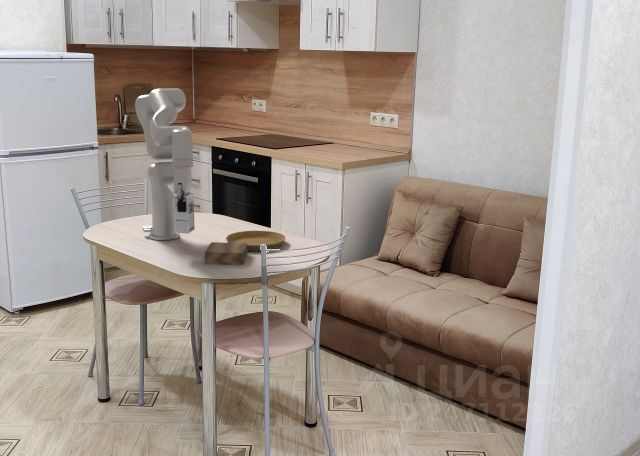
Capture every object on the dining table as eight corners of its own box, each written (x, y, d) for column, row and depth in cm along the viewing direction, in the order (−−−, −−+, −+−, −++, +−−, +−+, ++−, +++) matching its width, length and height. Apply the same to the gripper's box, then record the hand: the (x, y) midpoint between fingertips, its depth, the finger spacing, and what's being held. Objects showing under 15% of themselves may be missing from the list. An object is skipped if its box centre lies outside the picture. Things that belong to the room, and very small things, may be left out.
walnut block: (205, 265, 266) (204, 252, 265) (211, 254, 280) (211, 242, 278) (242, 266, 266) (242, 253, 264) (247, 255, 279) (247, 242, 278)
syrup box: (189, 233, 270) (188, 196, 267) (174, 232, 272) (173, 195, 268) (194, 229, 276) (193, 193, 272) (180, 228, 277) (179, 191, 273)
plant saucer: (255, 234, 310) (255, 227, 309) (297, 244, 295) (297, 236, 294) (213, 245, 292) (213, 237, 291) (256, 256, 277) (256, 248, 276)
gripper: (178, 158, 275) (179, 203, 280) (166, 166, 258) (168, 215, 263) (197, 158, 275) (198, 204, 280) (187, 167, 258) (188, 215, 263)
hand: (184, 209), depth 271 cm, fingers closed on syrup box, 6 cm apart
